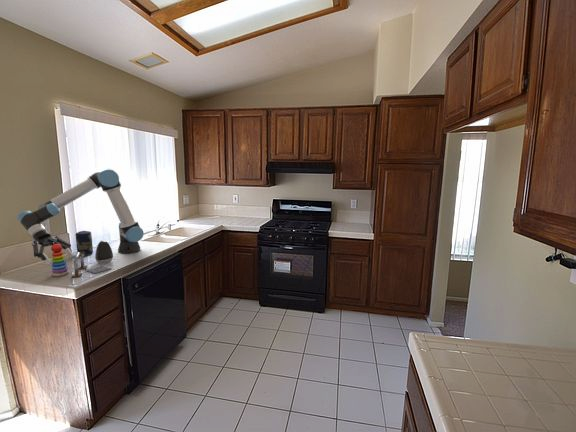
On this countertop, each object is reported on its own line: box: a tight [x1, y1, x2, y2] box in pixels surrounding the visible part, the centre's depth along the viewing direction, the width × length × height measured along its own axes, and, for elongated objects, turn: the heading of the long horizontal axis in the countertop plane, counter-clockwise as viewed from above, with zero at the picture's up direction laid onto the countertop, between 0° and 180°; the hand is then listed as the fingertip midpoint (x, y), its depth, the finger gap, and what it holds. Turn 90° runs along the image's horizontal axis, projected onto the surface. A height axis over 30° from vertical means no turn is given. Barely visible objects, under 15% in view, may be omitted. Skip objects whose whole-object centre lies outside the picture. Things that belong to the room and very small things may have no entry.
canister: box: [75, 230, 94, 257], centre depth 212 cm, size 10×10×18 cm
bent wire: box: [71, 251, 88, 279], centre depth 177 cm, size 4×18×13 cm, turn 24°
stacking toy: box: [51, 243, 70, 278], centre depth 172 cm, size 8×8×19 cm
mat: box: [84, 265, 112, 275], centre depth 182 cm, size 10×10×1 cm
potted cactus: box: [95, 240, 114, 265], centre depth 196 cm, size 10×10×15 cm
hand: (61, 260), depth 172 cm, fingers open, 13 cm apart
